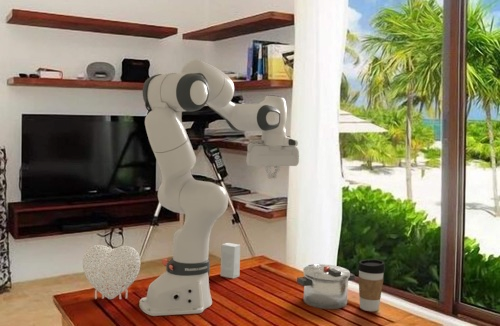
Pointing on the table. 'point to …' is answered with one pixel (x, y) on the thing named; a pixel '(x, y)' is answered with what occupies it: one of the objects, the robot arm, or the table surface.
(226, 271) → the skincare box
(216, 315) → the table surface
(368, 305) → the coffee cup
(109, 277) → the decorative heart
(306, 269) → the lid
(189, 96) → the robot arm
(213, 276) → the table surface
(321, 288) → the cooker pot
